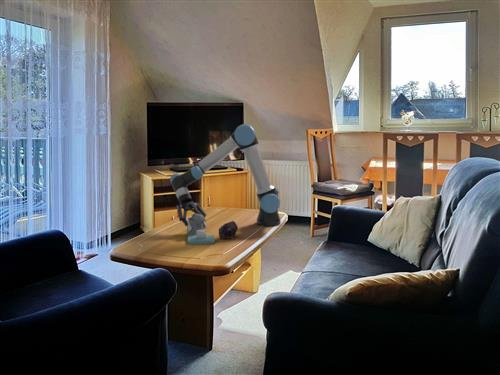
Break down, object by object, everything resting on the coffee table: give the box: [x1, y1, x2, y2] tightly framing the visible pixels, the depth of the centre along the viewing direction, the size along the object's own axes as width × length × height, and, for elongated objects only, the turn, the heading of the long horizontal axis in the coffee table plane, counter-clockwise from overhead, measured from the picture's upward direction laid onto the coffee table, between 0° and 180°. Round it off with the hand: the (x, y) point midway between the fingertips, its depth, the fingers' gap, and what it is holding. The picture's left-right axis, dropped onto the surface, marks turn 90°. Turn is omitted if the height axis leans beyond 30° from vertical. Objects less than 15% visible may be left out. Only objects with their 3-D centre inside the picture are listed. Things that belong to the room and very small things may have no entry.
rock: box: [218, 220, 239, 240], centre depth 244 cm, size 12×9×10 cm
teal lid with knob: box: [187, 229, 215, 245], centre depth 237 cm, size 14×12×6 cm
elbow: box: [186, 212, 206, 237], centre depth 249 cm, size 11×9×12 cm
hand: (198, 228), depth 247 cm, fingers closed on elbow, 9 cm apart
